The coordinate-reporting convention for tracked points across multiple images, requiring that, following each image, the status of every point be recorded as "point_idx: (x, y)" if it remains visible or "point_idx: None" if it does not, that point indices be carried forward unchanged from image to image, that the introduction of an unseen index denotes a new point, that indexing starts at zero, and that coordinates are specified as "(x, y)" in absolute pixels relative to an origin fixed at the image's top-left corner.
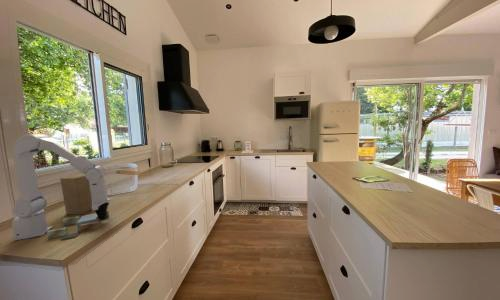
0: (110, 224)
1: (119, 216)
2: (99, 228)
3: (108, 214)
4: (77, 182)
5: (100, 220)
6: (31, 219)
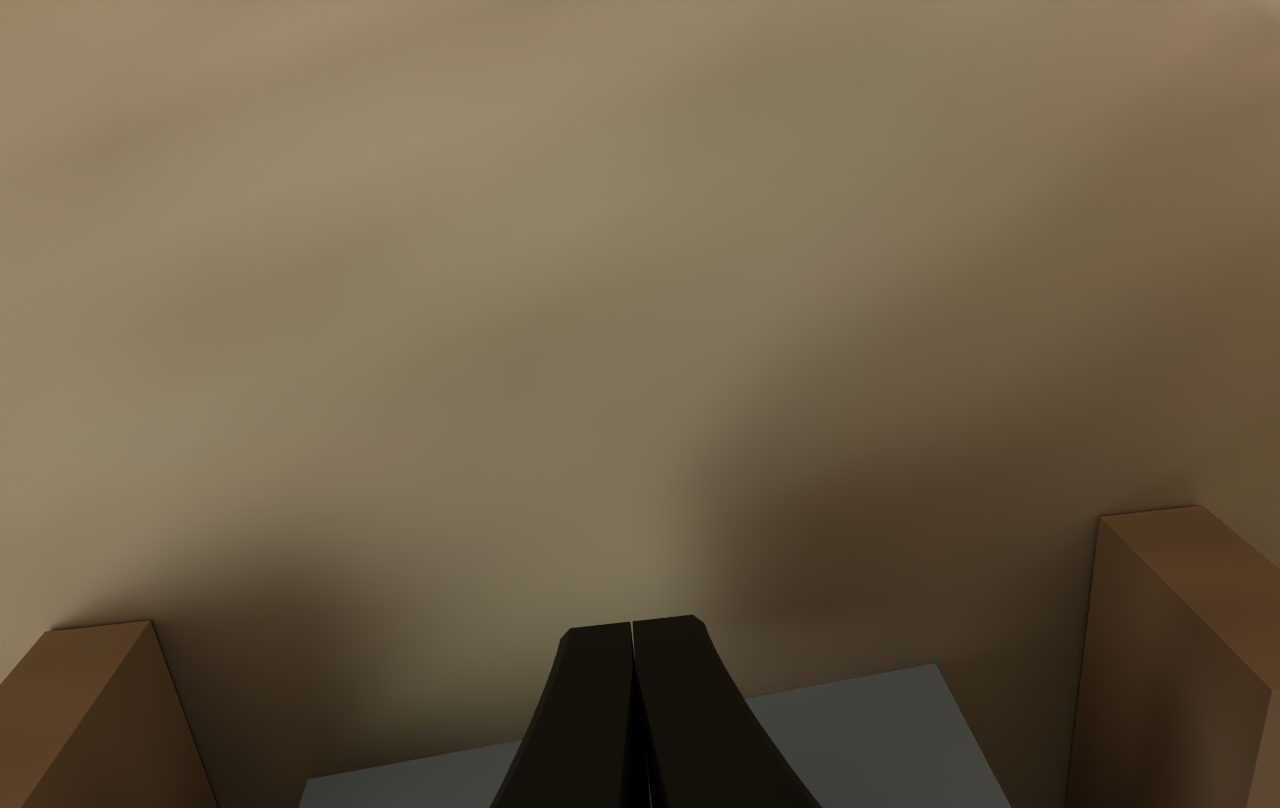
0: (1004, 242)
1: (141, 147)
2: (1203, 520)
3: (21, 701)
4: None
5: (431, 771)
6: None
